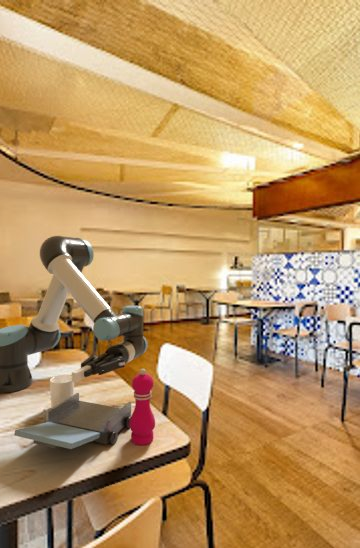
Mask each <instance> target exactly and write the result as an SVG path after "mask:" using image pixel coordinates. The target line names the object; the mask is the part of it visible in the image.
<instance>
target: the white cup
mask: <svg viewBox="0 0 360 548" xmlns="http://www.w3.org/2000/svg"><path fill="white" fill-rule="evenodd" d="M49 392H50V401H51V402H50V404H51V405H50V406H51V408H53V407H54V406H56V405H58V404H59V403H61V402H63V401H64V400H66V399H68V398H69V397H71V396H73V395H74V394H75V383H73V382H72V374H61V375H60V374H59V375H56V376H52V377H51V378H50V379H49ZM51 408H50V409H51Z"/></svg>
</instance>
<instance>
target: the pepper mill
mask: <svg viewBox="0 0 360 548" xmlns="http://www.w3.org/2000/svg"><path fill="white" fill-rule="evenodd" d="M153 379H154V378H153V376H151V375H150V374H148V373H147V370H146V369H145V368H140V370H139V374H136V375H135V376H134V377H133V379H132V381H131V382H132V383H131V387H132V389H133V391H134V392H133V398H134V399H135V402H134V403H135V406H134V409H133V412H132V413H131V419H130V425H129V426H130V428H129V430H131V431H132V432H131V434H130V441H131V442H132V444H134V445H137V446H146V445H149V444H150V443H151V444H152V442H153V441H154V429H155V427H156V419H155V415H154V414H153V411H152V409H151V404H150V403H151V402H150V401H151V399H152V390H153V388H154V380H153Z"/></svg>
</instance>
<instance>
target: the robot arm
mask: <svg viewBox="0 0 360 548" xmlns="http://www.w3.org/2000/svg"><path fill="white" fill-rule="evenodd" d="M94 254H95V253H94V249H93V246H92V244H91V243H90V242H89V241H88V240H86V239H84V238H80V237H71V236H62V235H54V236H50V237H48V238H46V239H45V240H44V241H43V242H42V244H41V246H40V248H39V258H40V261H41V263H42V266H43V267H44V268H45V270H47V273H49V274H51V275H52V277H51V280H50V283H49V284H48V287H47V290H46V293H45V295H44V298H43V300H42V302H41V306H40V308H39V310H38V313H37V315H35V316H34V317H32V319H31V320H30V323H29V326H27V325H25V324H14V325H9V326H5V327H2V328H0V394H3V393H4V394H6V393H12V392H17V391H21V390H24V389H26V388H28V387H30V386H31V385H32V384H33V375H32V373H31V369H30V367H29V365H28V364H29V363H28V358H29V357H28V356H31V355H33V354H37V353H41V352H44V351H48V350H50V349H53V348H55V347H56V346H57V345H58V343H59V341H60V340H61V328H60V324H59V323H58V321H59V318H60V316H61V313H62V311H63V309H64V306H65V304H66V301H67V300H68V296H69V295H70V296H71V297H72V298H73V300H75V302H76V303H77V304H78V306H79V307H80V308H81V309H82V311H83V312H84V313H85V314H86V315H87V317H88V318H89V319H90V321H92V323H93V326H92V327H93V332H94V335H95V337H96V339H98V340H100V341H103V342H106V341H111V340H115V339H116V338H119V337H121V336H122V340H123V341H121V342H117V343H116V344H113V345H111V346H109V347H108V348H107V349H106V350H105V352H104V353H102V354H99V355H98V356H96V355H95V354H90V355H89V357H88V358H86V359H85V360H83V362H81V363H80V368H78V369H76V370H74V371H72V372H71V375H72V382H73V383H74V384H77V383H79V382H81V381H83V380H84V379H86V378H88V377H91V376H96V375H97V374H98V376H102V375H105V374H107V373H110V372H112V371H116V370H118V369H124V368H126V367H125V365H126V364H128V363H130V362H131V361H134V360H135V359H137V358H140V357H141V356H143V355H144V354H145V352H147V350H148V347H149V343H148V341H147V339H146V337H144V311H143V307H142V306H140V305H126V306H123V308H122V312H121V313H119V314H117V313H116V312H115V311H114V310H113V309H112V307H111V306H110V305H109V304H108V303H107V302H106V301H105V299H104V298H103V297H102V296H101V294H100V293H99V292H98V291H97V290H96V288H95V287H94V286H93V285H92V283H91V282H90V281H88V279H87V278H86V277H85V275H84V274H83V273H82V272H83V270H84V267H85V268H86V267H88V266H90V265H91V264H92V262H93V261H94V256H95V255H94Z"/></svg>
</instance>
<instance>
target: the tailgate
mask: <svg viewBox="0 0 360 548" xmlns="http://www.w3.org/2000/svg"><path fill="white" fill-rule="evenodd" d="M13 436H16V437H19V438H22V439H24V438H25V439H27V440H32V441H33V444H35V445H39V446H43V447H46V448H51V449H55V448H57V447H61V448H65V449H69V450H72V449H75V448H78V447H80V446H83V445H85V444H89V443H90V442H94V441H93V440H95V439H98V438H99V437H100V433H98V432H93V431H89V430H84V429H79V428H75V427H70V426H65V425H61V424H56V423H52V422H46V421H45V422H43V423H38V424H34V425H31V426H26V427H23V428H18V429H15V430H14V433H13Z"/></svg>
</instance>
